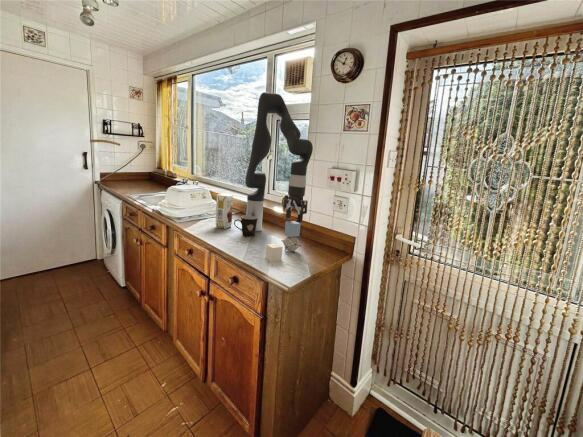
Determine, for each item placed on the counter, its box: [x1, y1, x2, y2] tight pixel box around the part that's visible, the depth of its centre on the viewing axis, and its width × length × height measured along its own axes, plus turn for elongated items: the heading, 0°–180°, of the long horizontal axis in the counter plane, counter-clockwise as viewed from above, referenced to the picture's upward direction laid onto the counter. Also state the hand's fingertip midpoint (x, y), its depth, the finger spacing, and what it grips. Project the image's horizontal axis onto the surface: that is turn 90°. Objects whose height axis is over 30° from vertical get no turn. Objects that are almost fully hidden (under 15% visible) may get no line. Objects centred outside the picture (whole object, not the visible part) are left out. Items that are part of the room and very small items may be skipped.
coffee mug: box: [233, 215, 258, 238], centre depth 159 cm, size 12×9×10 cm
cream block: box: [265, 243, 283, 263], centre depth 128 cm, size 5×5×6 cm
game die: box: [281, 236, 302, 254], centre depth 139 cm, size 9×8×10 cm
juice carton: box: [215, 192, 234, 230], centre depth 170 cm, size 8×9×19 cm
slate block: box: [284, 220, 302, 237], centre depth 138 cm, size 5×5×6 cm
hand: (293, 220), depth 137 cm, fingers open, 8 cm apart
